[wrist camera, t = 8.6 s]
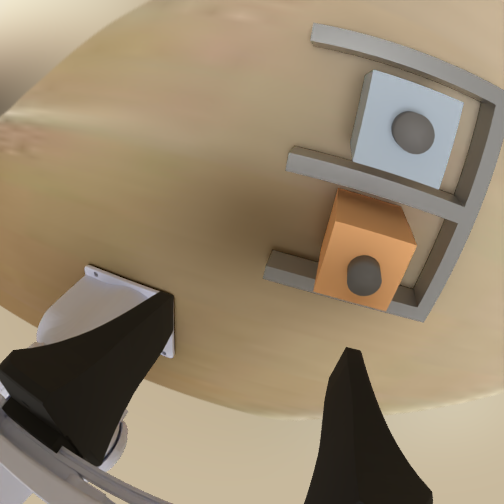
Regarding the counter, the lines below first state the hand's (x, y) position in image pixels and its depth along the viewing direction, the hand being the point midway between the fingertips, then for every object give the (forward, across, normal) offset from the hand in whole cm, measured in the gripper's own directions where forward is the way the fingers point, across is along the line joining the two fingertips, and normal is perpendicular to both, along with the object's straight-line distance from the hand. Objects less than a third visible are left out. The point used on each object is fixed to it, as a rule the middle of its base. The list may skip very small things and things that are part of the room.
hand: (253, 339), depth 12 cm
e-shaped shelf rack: (+9, -4, -5) cm, 11 cm away
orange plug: (+9, -4, -2) cm, 10 cm away
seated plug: (+9, -4, -9) cm, 13 cm away
